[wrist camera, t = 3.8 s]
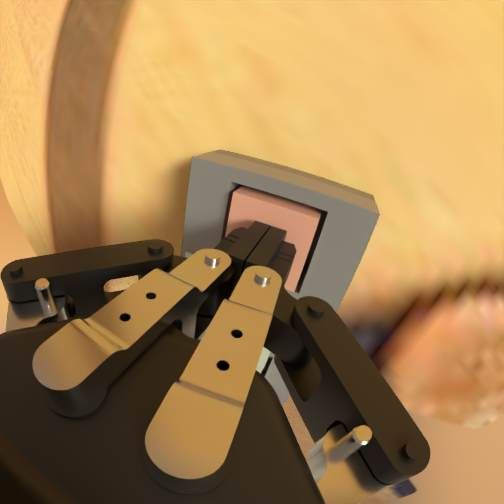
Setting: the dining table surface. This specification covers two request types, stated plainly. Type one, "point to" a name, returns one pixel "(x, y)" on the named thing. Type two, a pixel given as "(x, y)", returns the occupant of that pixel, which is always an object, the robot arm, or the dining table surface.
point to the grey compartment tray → (295, 188)
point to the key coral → (277, 221)
